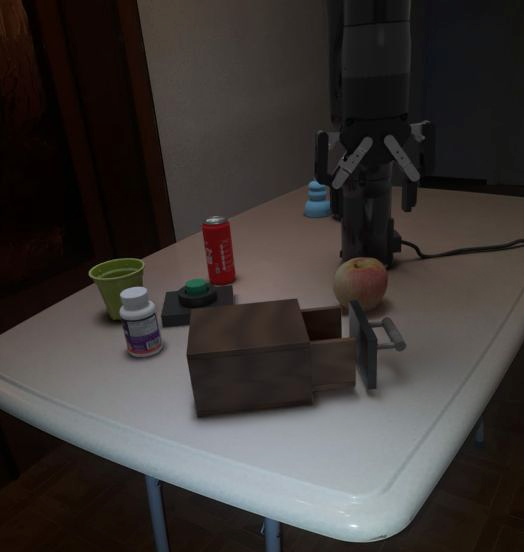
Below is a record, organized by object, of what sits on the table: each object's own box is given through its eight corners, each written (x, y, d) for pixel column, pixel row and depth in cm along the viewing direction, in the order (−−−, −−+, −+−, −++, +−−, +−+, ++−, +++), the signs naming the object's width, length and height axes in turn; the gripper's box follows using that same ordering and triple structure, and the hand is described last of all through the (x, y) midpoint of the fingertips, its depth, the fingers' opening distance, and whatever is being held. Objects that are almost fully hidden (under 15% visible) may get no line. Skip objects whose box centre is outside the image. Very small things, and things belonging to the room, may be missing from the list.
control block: (233, 296, 101) (231, 275, 99) (234, 320, 93) (232, 298, 91) (168, 302, 101) (164, 282, 99) (163, 327, 92) (158, 305, 90)
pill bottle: (130, 343, 88) (117, 286, 84) (164, 339, 89) (153, 282, 84) (126, 360, 84) (112, 301, 79) (162, 356, 84) (150, 297, 79)
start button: (207, 287, 97) (206, 277, 96) (207, 295, 93) (205, 285, 93) (187, 289, 97) (185, 279, 96) (186, 297, 93) (184, 287, 93)
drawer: (386, 342, 80) (388, 296, 76) (410, 385, 70) (413, 334, 66) (264, 355, 80) (259, 309, 76) (270, 400, 70) (265, 350, 66)
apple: (390, 297, 95) (391, 253, 91) (382, 321, 88) (383, 273, 84) (340, 294, 98) (339, 251, 94) (328, 317, 91) (327, 271, 87)
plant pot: (107, 331, 93) (95, 283, 89) (95, 311, 100) (83, 266, 96) (160, 316, 96) (151, 269, 92) (144, 298, 104) (135, 254, 100)
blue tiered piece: (380, 212, 138) (380, 175, 134) (361, 225, 131) (361, 186, 126) (316, 206, 147) (315, 171, 143) (296, 218, 140) (294, 181, 136)
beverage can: (232, 285, 105) (225, 224, 100) (206, 285, 107) (197, 224, 101) (238, 275, 110) (232, 215, 104) (213, 275, 111) (205, 216, 105)
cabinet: (300, 355, 81) (297, 298, 76) (313, 405, 70) (310, 341, 65) (200, 365, 81) (191, 309, 76) (197, 417, 70) (186, 354, 65)
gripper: (317, 78, 59) (321, 227, 67) (450, 66, 59) (438, 216, 67) (307, 75, 65) (312, 211, 73) (427, 64, 66) (419, 201, 74)
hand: (373, 213), depth 70 cm, fingers open, 8 cm apart
